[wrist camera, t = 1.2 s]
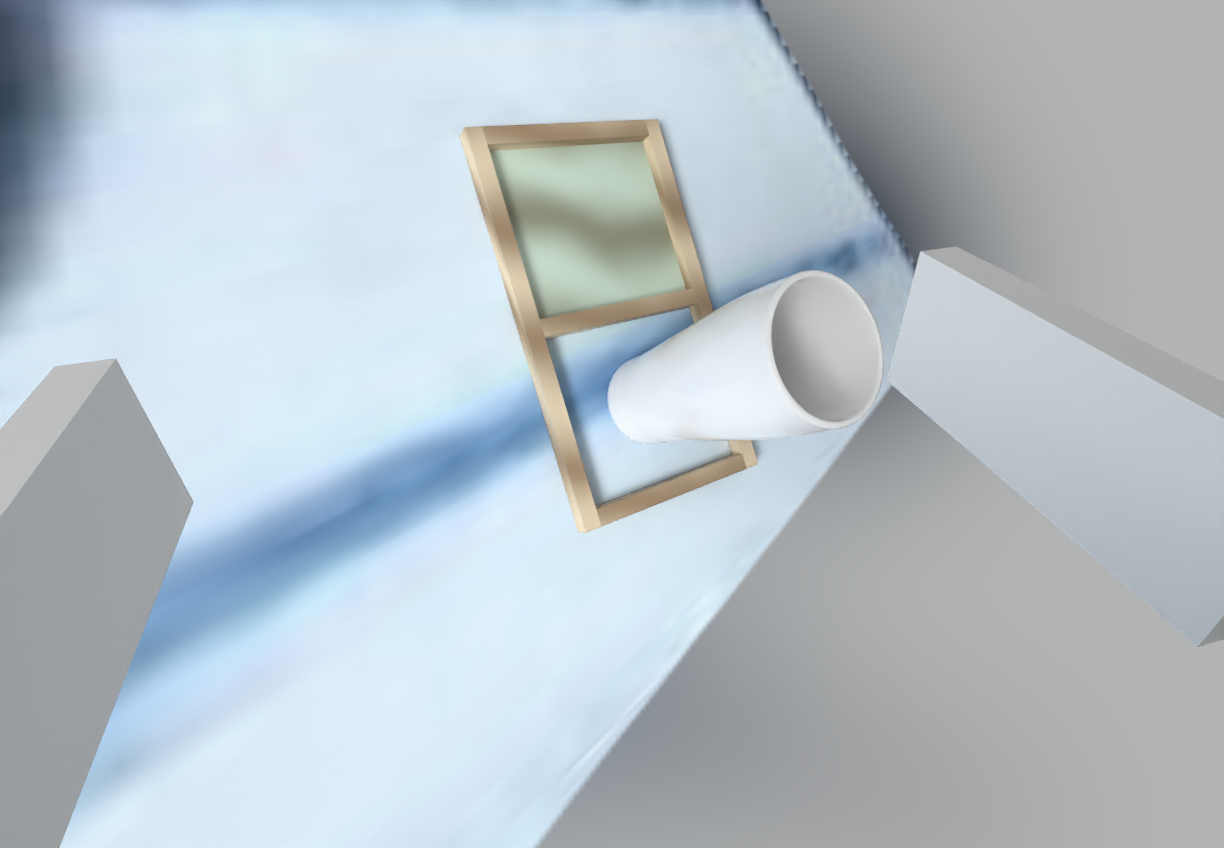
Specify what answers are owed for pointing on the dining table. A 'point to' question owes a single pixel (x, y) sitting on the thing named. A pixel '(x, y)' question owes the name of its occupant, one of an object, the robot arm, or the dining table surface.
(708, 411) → the drinking glass
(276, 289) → the dining table surface
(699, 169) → the dining table surface
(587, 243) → the wooden window frame
